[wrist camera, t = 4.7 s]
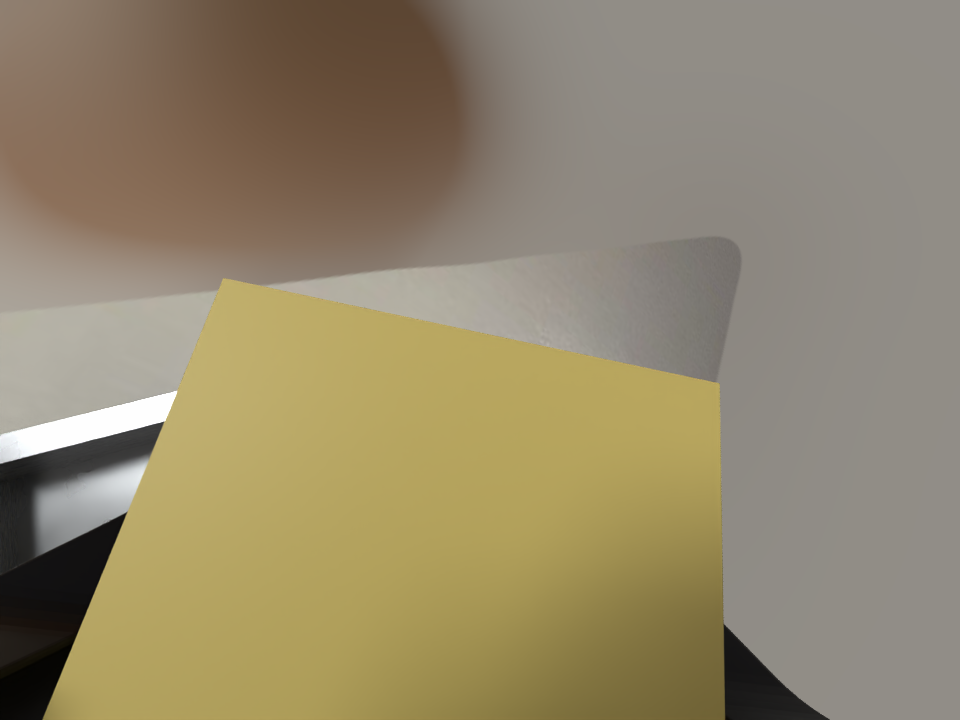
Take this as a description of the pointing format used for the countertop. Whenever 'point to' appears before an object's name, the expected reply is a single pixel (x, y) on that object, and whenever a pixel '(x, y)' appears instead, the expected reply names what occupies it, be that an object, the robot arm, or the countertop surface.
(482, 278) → the countertop surface
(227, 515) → the block
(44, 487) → the grey metal tray
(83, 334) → the countertop surface
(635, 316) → the countertop surface
